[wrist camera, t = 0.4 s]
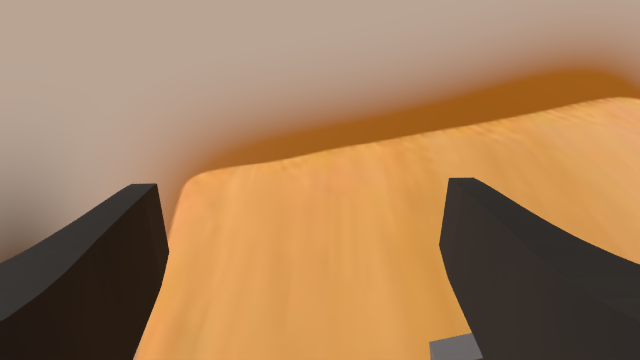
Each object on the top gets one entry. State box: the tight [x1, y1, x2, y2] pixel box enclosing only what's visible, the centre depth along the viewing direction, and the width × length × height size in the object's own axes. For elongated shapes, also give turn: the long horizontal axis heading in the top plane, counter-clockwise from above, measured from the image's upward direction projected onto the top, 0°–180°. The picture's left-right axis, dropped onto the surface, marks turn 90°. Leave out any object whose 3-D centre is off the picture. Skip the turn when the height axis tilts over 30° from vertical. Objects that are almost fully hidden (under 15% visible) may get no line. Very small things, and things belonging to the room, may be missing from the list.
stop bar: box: [429, 333, 484, 360], centre depth 28 cm, size 2×20×2 cm, turn 96°
